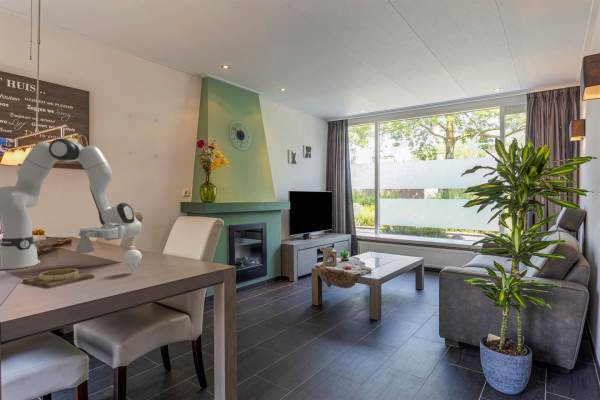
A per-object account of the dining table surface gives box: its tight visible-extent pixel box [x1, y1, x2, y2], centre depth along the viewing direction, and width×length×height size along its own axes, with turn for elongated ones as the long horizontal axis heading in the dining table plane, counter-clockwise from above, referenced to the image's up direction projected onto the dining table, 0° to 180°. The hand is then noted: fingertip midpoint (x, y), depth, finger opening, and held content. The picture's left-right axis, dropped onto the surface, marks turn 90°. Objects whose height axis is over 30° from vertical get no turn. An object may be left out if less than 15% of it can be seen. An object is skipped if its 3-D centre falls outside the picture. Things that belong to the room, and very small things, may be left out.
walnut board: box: [22, 272, 95, 289], centre depth 140 cm, size 19×17×1 cm
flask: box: [75, 230, 95, 254], centre depth 156 cm, size 7×7×10 cm
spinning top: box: [122, 245, 143, 274], centre depth 151 cm, size 8×8×12 cm
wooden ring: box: [38, 268, 80, 281], centre depth 140 cm, size 13×13×2 cm
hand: (82, 234), depth 155 cm, fingers closed on flask, 3 cm apart
